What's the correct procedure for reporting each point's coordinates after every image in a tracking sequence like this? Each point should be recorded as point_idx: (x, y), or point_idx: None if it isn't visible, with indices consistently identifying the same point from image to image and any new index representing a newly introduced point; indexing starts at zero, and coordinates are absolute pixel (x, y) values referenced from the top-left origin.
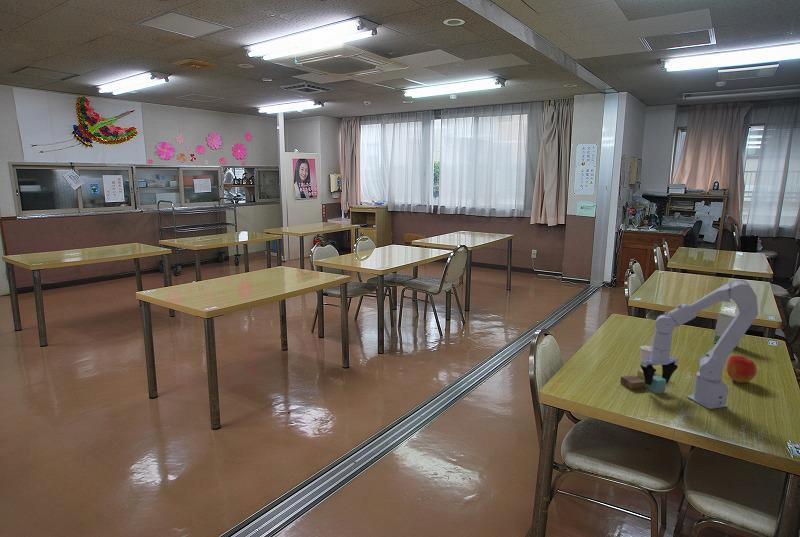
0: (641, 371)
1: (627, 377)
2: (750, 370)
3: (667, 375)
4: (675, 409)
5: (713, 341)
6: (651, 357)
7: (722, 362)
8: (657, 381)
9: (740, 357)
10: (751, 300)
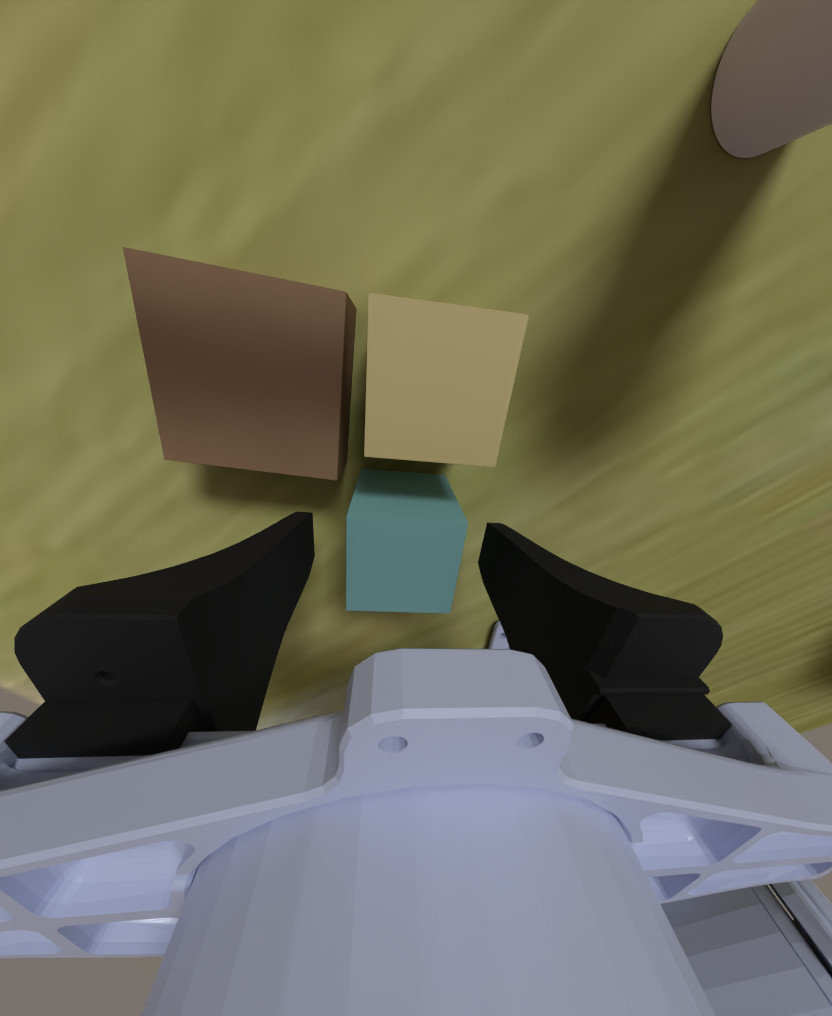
0: (373, 370)
1: (202, 316)
2: None
3: (506, 606)
4: (313, 683)
5: None
6: (173, 939)
7: None
8: (348, 606)
9: None
10: None
